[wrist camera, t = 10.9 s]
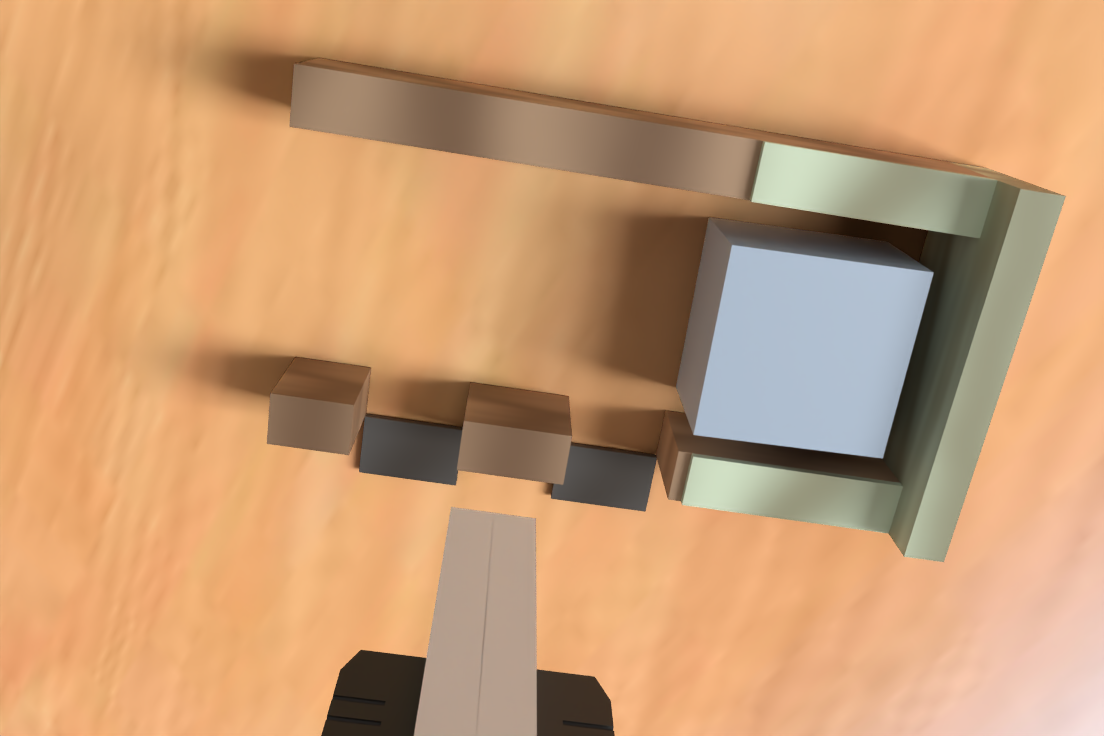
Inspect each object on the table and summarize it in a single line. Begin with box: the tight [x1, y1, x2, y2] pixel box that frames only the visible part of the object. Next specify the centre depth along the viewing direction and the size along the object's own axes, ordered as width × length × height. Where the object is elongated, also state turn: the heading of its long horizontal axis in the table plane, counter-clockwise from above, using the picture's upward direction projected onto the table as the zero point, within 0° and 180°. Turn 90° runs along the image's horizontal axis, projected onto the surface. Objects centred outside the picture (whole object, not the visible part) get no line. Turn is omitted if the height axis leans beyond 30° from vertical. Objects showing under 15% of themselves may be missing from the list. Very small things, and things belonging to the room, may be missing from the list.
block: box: [676, 217, 934, 458], centre depth 37 cm, size 7×7×5 cm
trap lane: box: [267, 58, 1066, 562], centre depth 37 cm, size 25×16×6 cm, turn 81°
